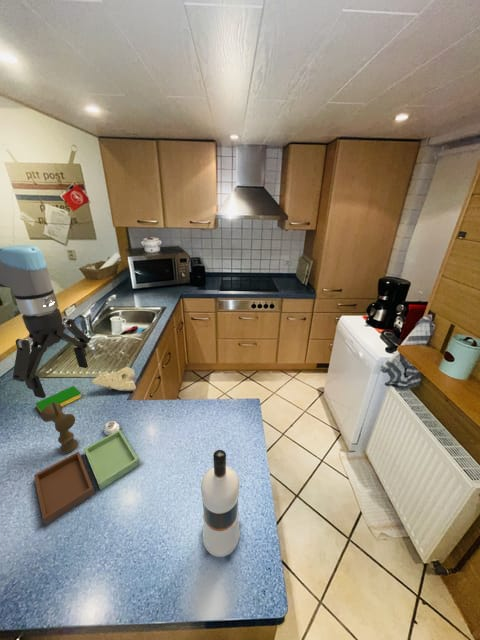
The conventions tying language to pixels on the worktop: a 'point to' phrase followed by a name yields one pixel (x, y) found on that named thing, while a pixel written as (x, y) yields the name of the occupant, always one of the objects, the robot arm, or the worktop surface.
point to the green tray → (111, 458)
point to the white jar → (111, 427)
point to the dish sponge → (60, 398)
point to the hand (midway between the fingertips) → (63, 380)
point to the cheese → (117, 380)
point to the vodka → (220, 507)
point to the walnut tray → (62, 487)
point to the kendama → (61, 425)
